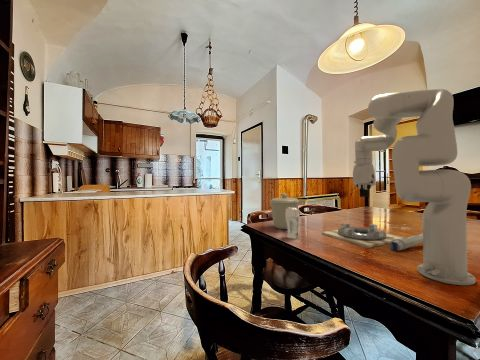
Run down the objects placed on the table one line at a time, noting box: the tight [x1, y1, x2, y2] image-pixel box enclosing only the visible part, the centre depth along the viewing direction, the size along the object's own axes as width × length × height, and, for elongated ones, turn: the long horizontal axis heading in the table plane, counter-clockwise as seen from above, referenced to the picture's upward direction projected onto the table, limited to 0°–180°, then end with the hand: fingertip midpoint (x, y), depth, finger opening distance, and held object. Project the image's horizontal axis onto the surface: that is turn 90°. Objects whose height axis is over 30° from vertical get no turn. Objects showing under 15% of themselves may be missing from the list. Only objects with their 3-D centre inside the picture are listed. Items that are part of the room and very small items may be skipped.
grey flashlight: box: [388, 233, 423, 252], centre depth 90 cm, size 5×7×25 cm
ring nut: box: [337, 222, 387, 240], centre depth 107 cm, size 21×21×4 cm
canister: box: [269, 192, 300, 230], centre depth 131 cm, size 18×18×21 cm
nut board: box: [321, 229, 407, 249], centre depth 107 cm, size 26×26×1 cm
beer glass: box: [285, 207, 300, 240], centre depth 110 cm, size 7×7×15 cm
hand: (364, 196), depth 115 cm, fingers closed
